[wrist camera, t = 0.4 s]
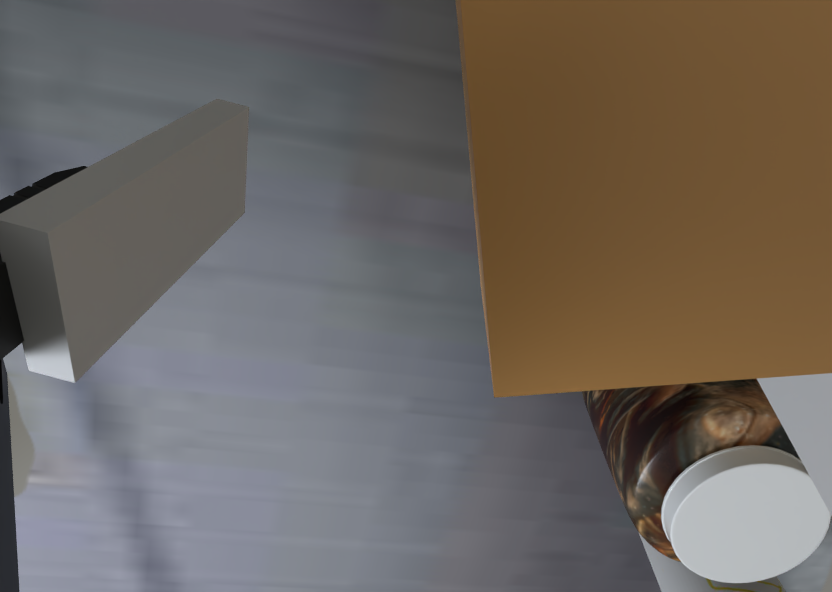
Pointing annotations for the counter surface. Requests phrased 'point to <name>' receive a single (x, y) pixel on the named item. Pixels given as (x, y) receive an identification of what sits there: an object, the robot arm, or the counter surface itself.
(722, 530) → the jar
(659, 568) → the cup
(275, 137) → the counter surface
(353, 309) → the counter surface
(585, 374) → the orange box
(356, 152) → the counter surface
